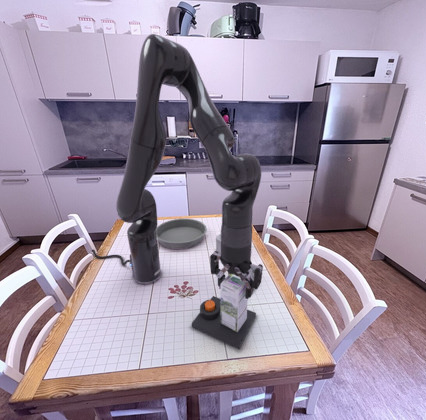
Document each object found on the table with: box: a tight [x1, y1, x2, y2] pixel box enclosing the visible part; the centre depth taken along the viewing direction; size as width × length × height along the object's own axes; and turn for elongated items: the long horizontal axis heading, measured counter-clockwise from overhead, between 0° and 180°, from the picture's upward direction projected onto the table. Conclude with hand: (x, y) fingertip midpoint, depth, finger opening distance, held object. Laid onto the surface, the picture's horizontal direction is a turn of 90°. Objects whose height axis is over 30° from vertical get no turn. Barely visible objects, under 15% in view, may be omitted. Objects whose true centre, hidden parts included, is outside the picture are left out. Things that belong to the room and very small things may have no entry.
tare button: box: [205, 299, 215, 312], centre depth 70 cm, size 3×3×2 cm
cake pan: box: [156, 218, 208, 250], centre depth 114 cm, size 25×25×4 cm
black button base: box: [191, 295, 257, 350], centre depth 69 cm, size 16×12×4 cm
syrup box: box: [219, 274, 249, 332], centre depth 65 cm, size 6×6×14 cm
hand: (234, 291), depth 63 cm, fingers open, 7 cm apart
